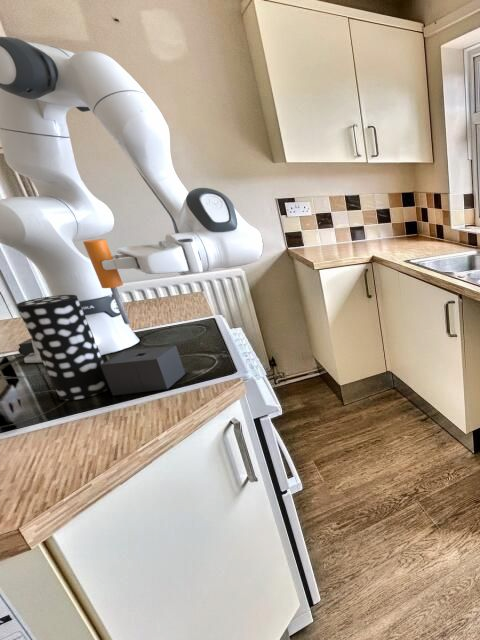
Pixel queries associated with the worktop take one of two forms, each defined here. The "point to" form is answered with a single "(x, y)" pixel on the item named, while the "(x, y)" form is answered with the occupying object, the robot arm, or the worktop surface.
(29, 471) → the worktop surface
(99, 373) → the spotted tube
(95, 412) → the worktop surface
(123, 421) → the worktop surface
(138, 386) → the holder
